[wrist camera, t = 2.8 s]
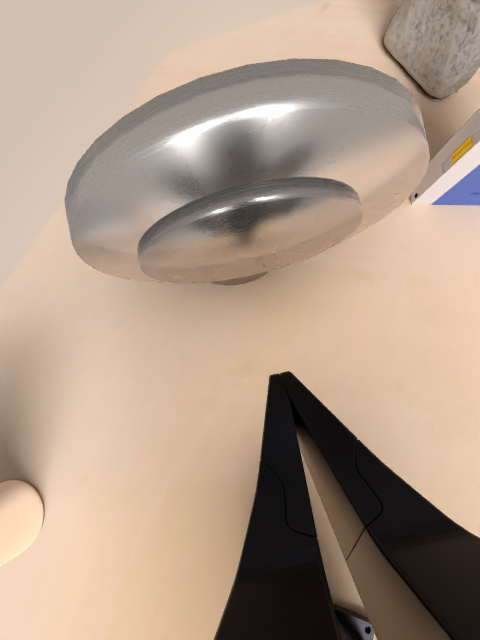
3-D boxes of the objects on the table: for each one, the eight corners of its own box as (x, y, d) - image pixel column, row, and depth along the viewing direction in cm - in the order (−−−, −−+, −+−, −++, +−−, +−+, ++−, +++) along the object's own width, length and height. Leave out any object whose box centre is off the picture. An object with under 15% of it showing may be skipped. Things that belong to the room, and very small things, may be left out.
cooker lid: (329, 242, 18) (334, 263, 18) (153, 279, 18) (157, 300, 18) (607, -9, 4) (627, 74, 4) (-119, 139, 4) (-103, 224, 4)
